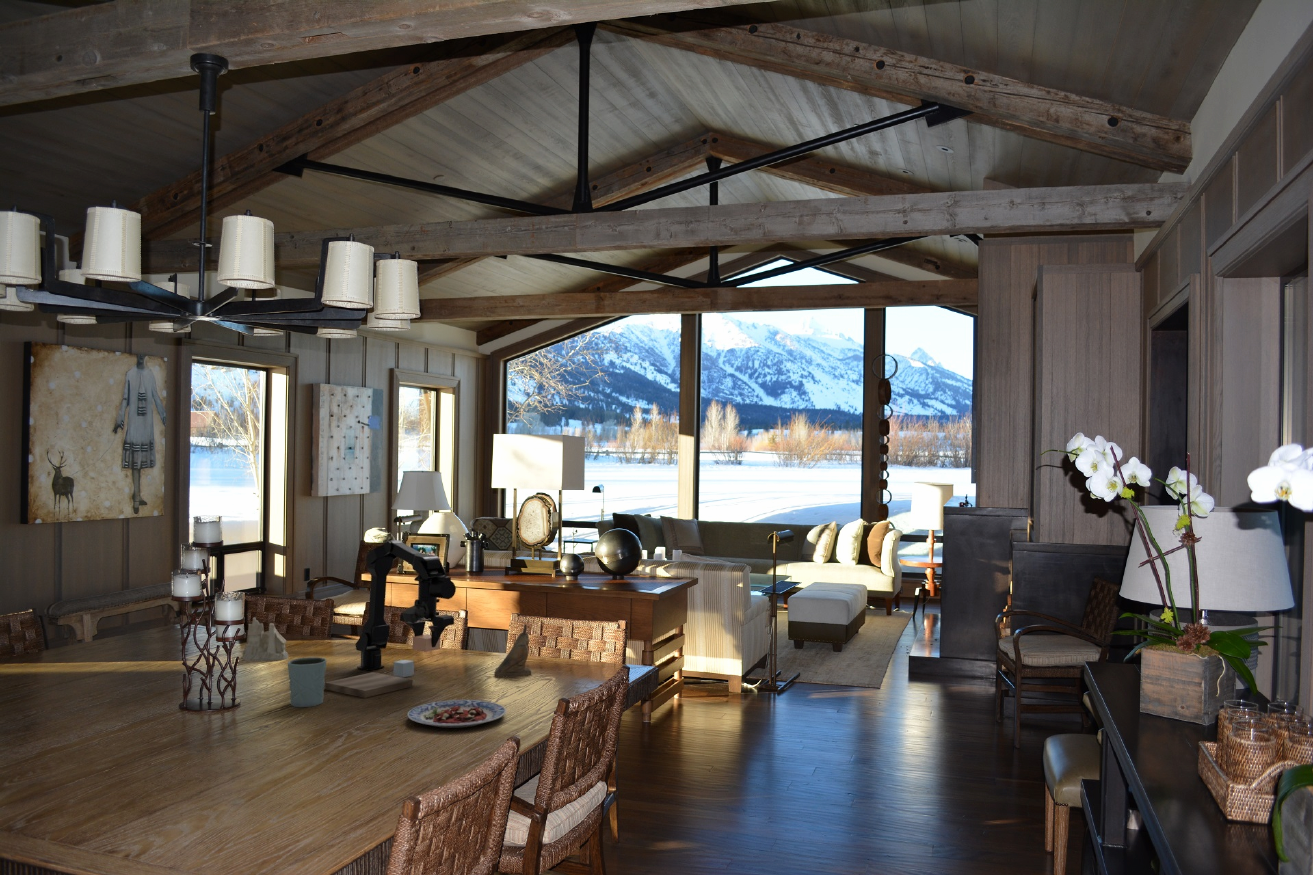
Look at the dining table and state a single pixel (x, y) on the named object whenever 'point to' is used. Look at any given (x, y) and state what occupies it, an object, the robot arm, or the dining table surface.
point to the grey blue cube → (403, 668)
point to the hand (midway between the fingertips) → (426, 645)
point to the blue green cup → (307, 681)
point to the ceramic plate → (456, 713)
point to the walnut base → (368, 684)
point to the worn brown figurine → (515, 659)
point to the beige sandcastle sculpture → (264, 644)
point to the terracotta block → (424, 643)
